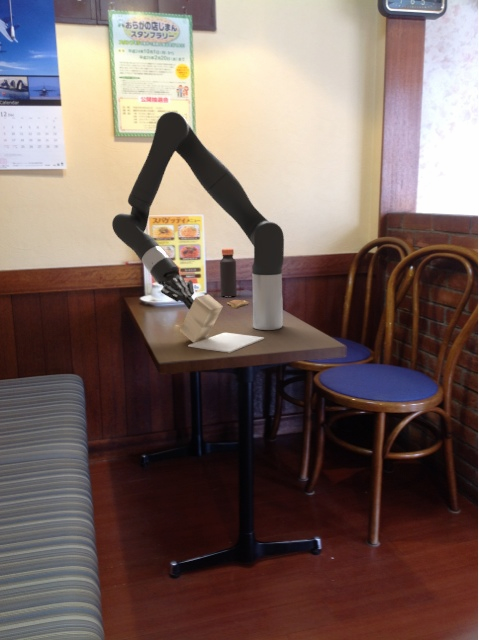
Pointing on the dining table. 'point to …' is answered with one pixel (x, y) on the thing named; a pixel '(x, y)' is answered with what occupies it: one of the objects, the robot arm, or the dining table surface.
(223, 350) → the mat
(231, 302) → the shard
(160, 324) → the dining table surface
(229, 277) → the bottle
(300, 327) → the dining table surface
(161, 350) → the dining table surface
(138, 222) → the robot arm
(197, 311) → the wooden block
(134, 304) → the dining table surface
